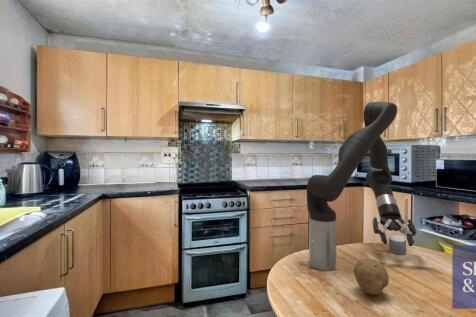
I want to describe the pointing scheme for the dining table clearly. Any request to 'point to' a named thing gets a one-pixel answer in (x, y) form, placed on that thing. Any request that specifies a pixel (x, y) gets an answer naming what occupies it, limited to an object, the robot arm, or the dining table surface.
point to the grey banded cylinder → (397, 247)
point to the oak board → (409, 262)
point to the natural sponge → (371, 276)
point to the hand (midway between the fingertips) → (398, 244)
